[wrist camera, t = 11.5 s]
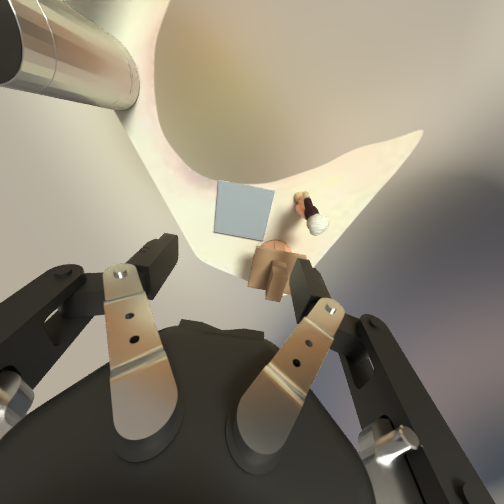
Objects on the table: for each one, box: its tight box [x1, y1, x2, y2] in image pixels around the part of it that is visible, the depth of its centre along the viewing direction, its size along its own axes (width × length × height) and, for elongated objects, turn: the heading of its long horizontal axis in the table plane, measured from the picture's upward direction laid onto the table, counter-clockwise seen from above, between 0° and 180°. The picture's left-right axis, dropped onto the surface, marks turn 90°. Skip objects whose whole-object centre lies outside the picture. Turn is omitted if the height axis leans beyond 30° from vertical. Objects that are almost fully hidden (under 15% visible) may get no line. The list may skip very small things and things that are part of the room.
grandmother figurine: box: [294, 192, 330, 236], centre depth 33 cm, size 8×4×13 cm, turn 37°
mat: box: [214, 180, 275, 241], centre depth 40 cm, size 11×11×1 cm
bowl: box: [261, 240, 291, 252], centre depth 42 cm, size 8×8×6 cm
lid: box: [248, 246, 306, 302], centre depth 38 cm, size 10×10×6 cm
